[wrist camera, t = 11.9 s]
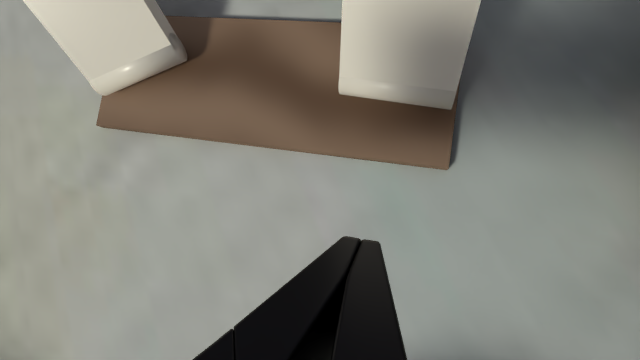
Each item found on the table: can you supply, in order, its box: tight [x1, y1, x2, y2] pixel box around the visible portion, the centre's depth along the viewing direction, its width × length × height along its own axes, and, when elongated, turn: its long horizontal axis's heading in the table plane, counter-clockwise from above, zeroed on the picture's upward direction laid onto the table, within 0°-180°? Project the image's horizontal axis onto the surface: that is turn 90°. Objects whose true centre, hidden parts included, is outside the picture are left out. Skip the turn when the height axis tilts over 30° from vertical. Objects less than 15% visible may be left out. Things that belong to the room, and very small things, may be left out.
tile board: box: [96, 16, 460, 170], centre depth 22 cm, size 8×23×1 cm, turn 81°
